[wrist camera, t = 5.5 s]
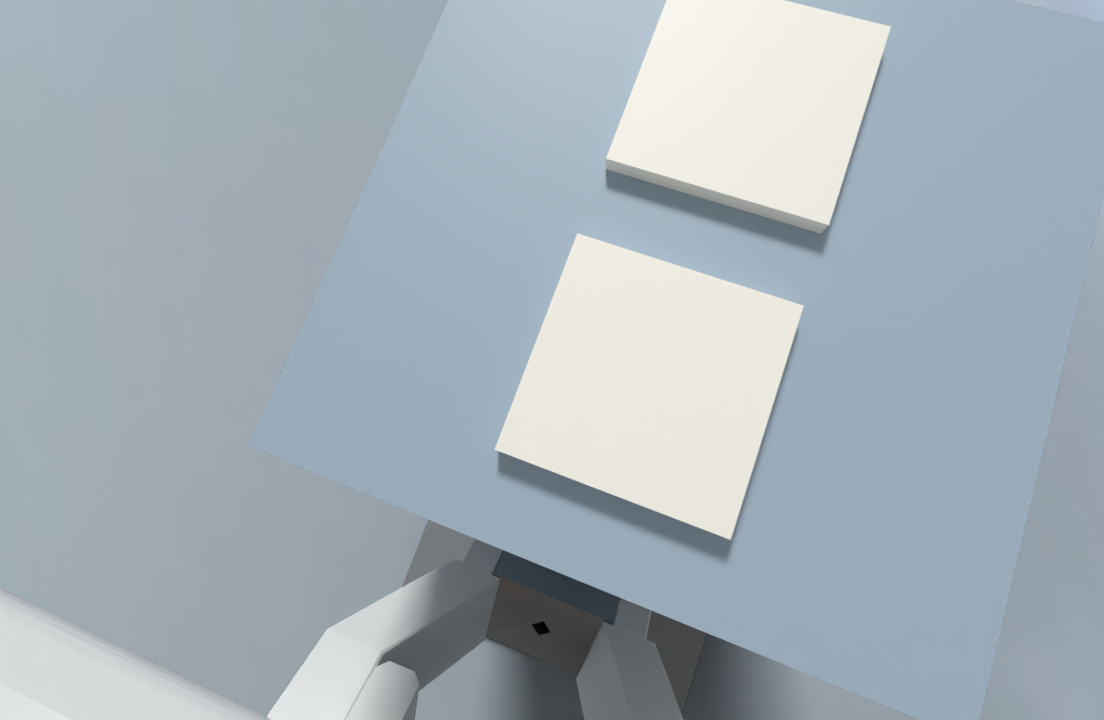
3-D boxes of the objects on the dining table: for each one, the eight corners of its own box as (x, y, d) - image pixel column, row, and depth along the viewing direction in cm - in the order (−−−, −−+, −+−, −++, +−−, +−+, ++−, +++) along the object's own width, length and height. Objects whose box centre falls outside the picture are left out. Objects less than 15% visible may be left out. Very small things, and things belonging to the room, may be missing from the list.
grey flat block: (680, 708, 15) (681, 713, 15) (403, 590, 16) (399, 592, 16) (830, 227, 17) (834, 223, 17) (575, 152, 18) (575, 146, 18)
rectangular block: (687, 529, 15) (1018, 766, 3) (508, 460, 16) (236, 445, 4) (744, 355, 16) (1186, 21, 4) (569, 296, 17) (497, -138, 5)
